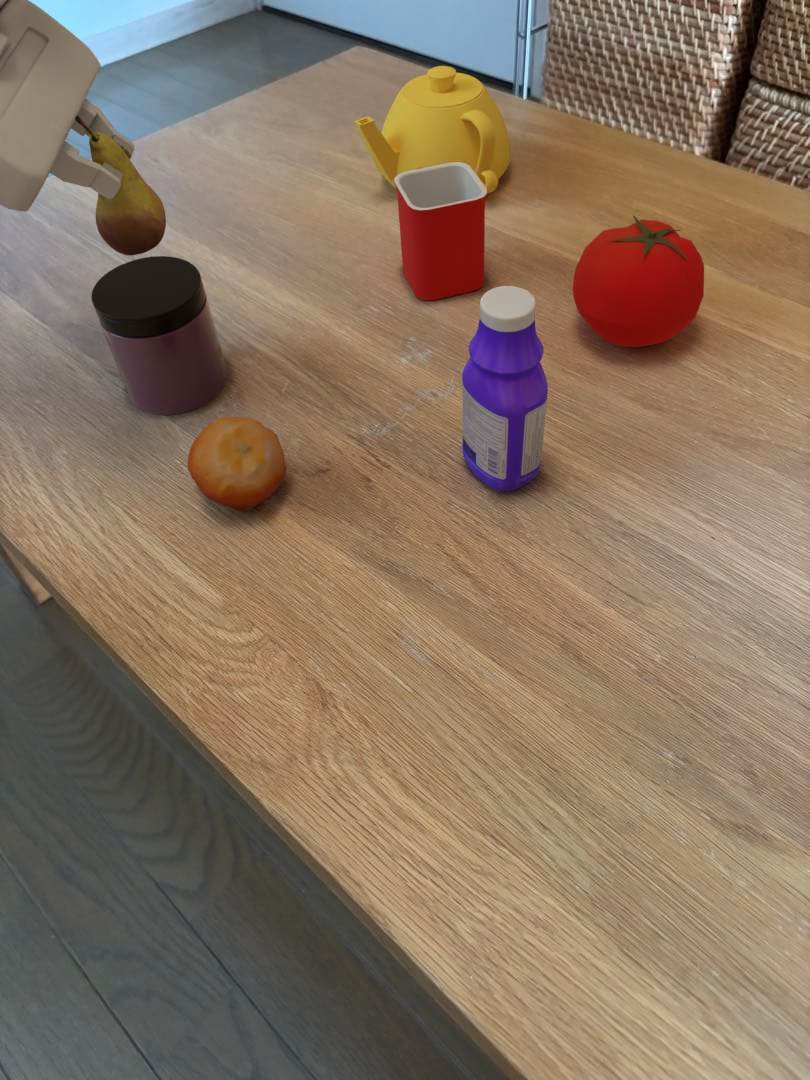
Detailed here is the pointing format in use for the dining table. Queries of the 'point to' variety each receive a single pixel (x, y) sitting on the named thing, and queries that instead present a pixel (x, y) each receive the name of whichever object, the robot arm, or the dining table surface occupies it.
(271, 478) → the fruit
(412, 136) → the teapot
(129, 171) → the fruit
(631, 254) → the tomato
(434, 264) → the mug
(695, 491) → the dining table surface
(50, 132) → the robot arm
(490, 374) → the bottle
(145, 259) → the jar lid
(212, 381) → the jar
